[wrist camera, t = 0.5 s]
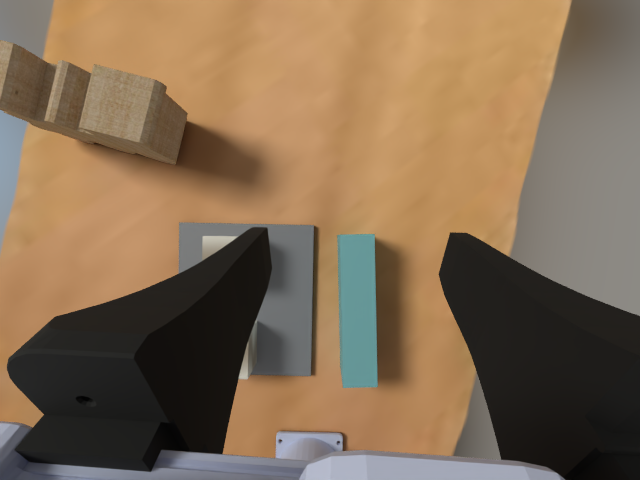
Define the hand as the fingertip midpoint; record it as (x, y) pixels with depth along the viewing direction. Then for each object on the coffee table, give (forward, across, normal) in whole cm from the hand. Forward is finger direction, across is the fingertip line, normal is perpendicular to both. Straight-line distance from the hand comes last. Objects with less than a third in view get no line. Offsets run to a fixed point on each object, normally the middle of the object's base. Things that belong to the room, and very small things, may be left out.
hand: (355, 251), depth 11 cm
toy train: (+25, +26, 0) cm, 36 cm away
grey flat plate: (+15, +11, +18) cm, 26 cm away
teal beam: (+16, -2, +18) cm, 24 cm away
